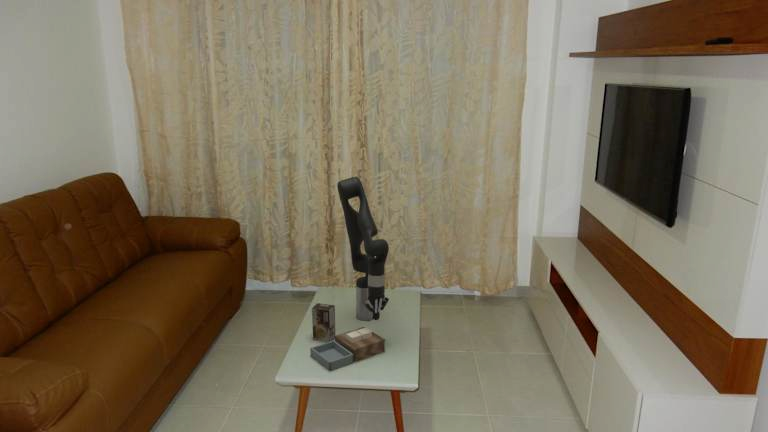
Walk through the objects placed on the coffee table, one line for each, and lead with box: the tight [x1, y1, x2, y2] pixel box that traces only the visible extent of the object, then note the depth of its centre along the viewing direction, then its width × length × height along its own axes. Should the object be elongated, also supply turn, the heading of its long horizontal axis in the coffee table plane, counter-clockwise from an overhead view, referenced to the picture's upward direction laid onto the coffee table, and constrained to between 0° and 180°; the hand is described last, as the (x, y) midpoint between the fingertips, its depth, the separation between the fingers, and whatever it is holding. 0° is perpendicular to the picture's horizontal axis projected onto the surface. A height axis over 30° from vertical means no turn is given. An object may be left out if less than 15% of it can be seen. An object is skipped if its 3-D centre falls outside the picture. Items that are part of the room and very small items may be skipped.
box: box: [309, 339, 355, 372], centre depth 244 cm, size 12×16×4 cm
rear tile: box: [356, 327, 373, 340], centre depth 252 cm, size 5×5×2 cm
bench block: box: [334, 326, 386, 363], centre depth 252 cm, size 16×16×6 cm
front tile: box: [346, 331, 362, 343], centre depth 249 cm, size 5×5×2 cm
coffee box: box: [311, 302, 336, 343], centre depth 261 cm, size 9×6×16 cm
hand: (376, 319), depth 255 cm, fingers closed
